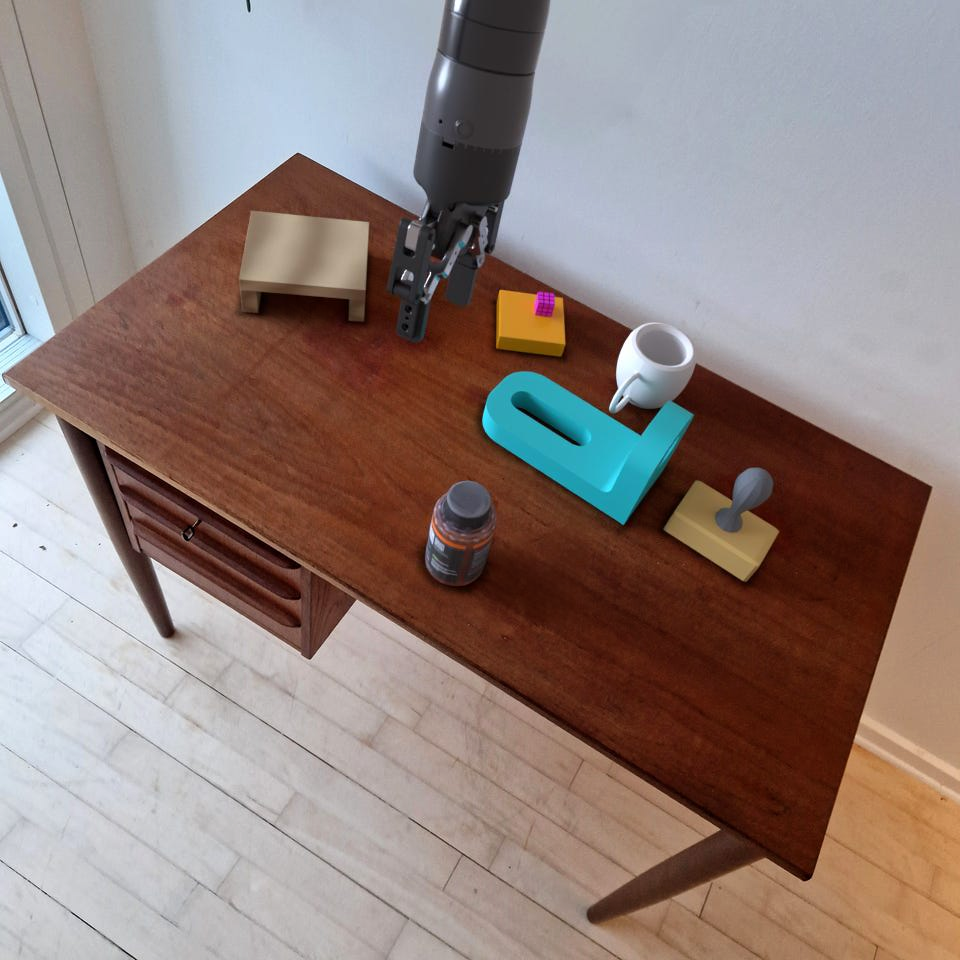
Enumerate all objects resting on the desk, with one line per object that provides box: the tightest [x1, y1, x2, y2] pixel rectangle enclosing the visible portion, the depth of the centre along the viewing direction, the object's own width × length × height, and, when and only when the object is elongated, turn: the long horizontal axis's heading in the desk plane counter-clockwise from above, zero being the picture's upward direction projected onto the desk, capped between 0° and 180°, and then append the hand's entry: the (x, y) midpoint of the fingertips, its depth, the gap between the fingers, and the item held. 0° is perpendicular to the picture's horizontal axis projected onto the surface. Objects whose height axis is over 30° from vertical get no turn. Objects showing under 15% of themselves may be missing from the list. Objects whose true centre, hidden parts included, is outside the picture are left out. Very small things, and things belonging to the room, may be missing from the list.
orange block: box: [495, 289, 566, 357], centre depth 101 cm, size 8×8×4 cm
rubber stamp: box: [663, 467, 780, 583], centre depth 85 cm, size 10×6×12 cm, turn 55°
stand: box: [238, 210, 370, 323], centre depth 100 cm, size 14×12×5 cm
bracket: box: [482, 371, 695, 526], centre depth 89 cm, size 20×9×12 cm, turn 55°
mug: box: [608, 321, 698, 415], centre depth 96 cm, size 12×8×8 cm
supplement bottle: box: [424, 480, 498, 587], centre depth 78 cm, size 6×6×11 cm
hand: (433, 319), depth 71 cm, fingers open, 8 cm apart
